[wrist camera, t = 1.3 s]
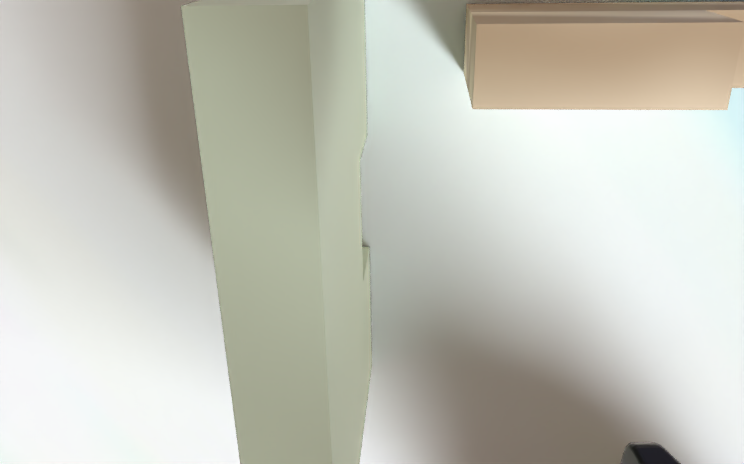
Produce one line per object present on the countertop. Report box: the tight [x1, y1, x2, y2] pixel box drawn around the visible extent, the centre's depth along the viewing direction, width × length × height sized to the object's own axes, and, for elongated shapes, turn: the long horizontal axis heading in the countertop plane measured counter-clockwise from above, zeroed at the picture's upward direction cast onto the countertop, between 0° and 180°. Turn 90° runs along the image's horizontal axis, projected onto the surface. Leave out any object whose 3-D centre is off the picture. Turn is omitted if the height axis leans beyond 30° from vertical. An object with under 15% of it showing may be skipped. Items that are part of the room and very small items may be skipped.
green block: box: [181, 0, 372, 464], centre depth 18 cm, size 14×2×10 cm, turn 1°
